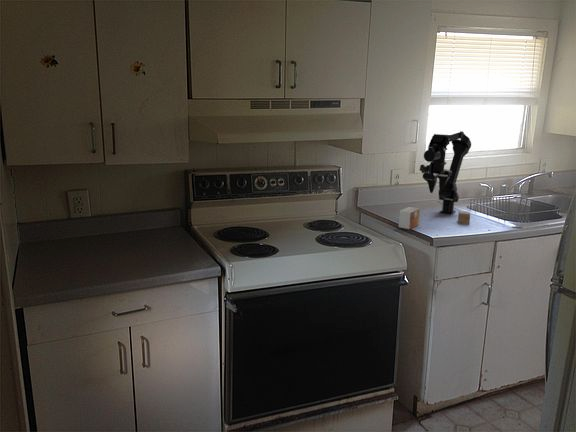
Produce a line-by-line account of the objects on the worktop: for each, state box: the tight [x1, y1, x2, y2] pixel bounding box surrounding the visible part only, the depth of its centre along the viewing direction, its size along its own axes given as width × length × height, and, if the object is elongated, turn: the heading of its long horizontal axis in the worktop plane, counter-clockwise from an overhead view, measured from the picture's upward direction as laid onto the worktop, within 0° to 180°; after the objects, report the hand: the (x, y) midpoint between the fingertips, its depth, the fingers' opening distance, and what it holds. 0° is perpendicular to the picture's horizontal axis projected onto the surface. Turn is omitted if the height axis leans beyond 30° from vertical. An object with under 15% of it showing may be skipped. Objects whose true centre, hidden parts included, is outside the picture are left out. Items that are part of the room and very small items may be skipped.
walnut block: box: [457, 210, 471, 225], centre depth 258 cm, size 5×5×5 cm
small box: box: [397, 206, 421, 230], centre depth 249 cm, size 8×6×10 cm
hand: (436, 191), depth 265 cm, fingers open, 9 cm apart
